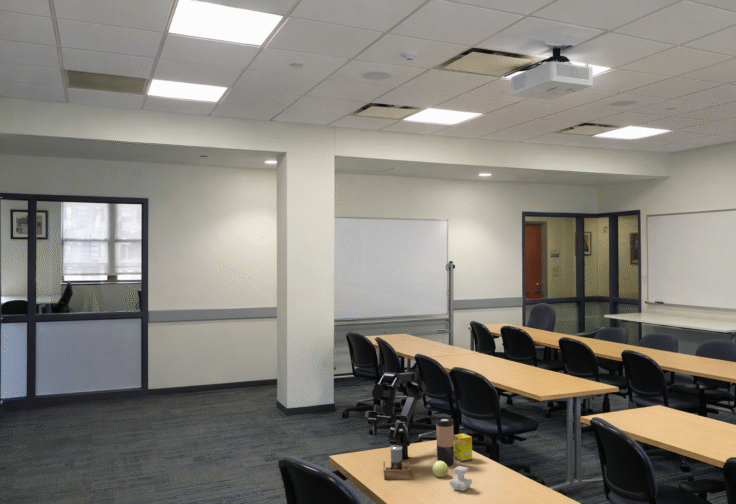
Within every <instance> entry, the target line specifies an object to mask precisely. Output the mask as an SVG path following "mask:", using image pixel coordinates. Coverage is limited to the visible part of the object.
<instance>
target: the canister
mask: <svg viewBox="0 0 736 504" xmlns="http://www.w3.org/2000/svg"><path fill="white" fill-rule="evenodd" d="M390 467H391V470H402V467H403V460H402V446H400V445H393V444H391V445H390Z"/></svg>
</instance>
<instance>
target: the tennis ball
mask: <svg viewBox="0 0 736 504" xmlns="http://www.w3.org/2000/svg"><path fill="white" fill-rule="evenodd" d="M431 470H432V473H433V474H434V475H435V476H436V477H437V478H445V477H446V476H447V474H448V472H449V467H448V466H447V464H446V463H445V462H443V461H438V460H437V461H435V462H433V465H432V469H431Z"/></svg>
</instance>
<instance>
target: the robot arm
mask: <svg viewBox="0 0 736 504" xmlns="http://www.w3.org/2000/svg"><path fill="white" fill-rule="evenodd" d="M401 383H405V386H406V393H407V397H406V401H405V403H404V405H403V408H402V410H401V413H400V414H396V415H395V413H394V411H395V407H396V397H397V396H396V395H397V392H399V389H398V388H397V386H400V385H401ZM426 391H427V385H426V384H425V382H424V380H423V379H422V378H421V377H419V375H418V373H416V372H414V371H406V372H399V373H398V372H391V371H390V372H388V371H385V372H384V373H383V374H382V377H381V378H380V380H379V382H378V383H377V384H376V386H375V387H374V388H373V389H372V391H371V395H372V397H373V399H374V400H380V401H381V402H380V404H374V407H373V411H372V410H366V411H365V413H364V414H365V415H364V417H365V418H367V420H369V421H370V424H371V427H372V433H373V436H376V434H377V426H378V425H377V424H378V419H385V420H393V421H394V420H395V421H394V422H393V423H392V424H391V425H390V428H389V430H388V434H387V435H388V441H389V444H390V445H400V446H402V461H403V460H408V459H410V456H409V450H408V449H409V448H408V447H410V445H411V443H412V439H411V438H410V436H409V430H408V426H409V424H410V421H411V418H412V415H413V413H414V410H415V408H416V405H417V402H418V401H420V399H423V397H424V395H425V393H426Z"/></svg>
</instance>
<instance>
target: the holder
mask: <svg viewBox="0 0 736 504" xmlns="http://www.w3.org/2000/svg"><path fill="white" fill-rule="evenodd" d="M382 463H383V464H382V465H383V477H384V480H386V481H387V480H411V479H412V477H411V476H412V475H411V474H412V471H411V465H410V460H409V461H408V460H407V462H406V466H402V470H391V466H388V467H386V461H383V462H382Z"/></svg>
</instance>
